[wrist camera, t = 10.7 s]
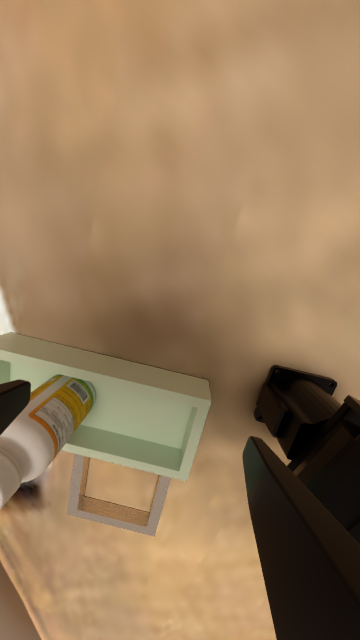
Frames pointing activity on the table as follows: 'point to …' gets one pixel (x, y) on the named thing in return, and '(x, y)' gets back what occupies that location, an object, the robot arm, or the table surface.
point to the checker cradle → (110, 511)
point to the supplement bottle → (42, 430)
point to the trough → (119, 404)
